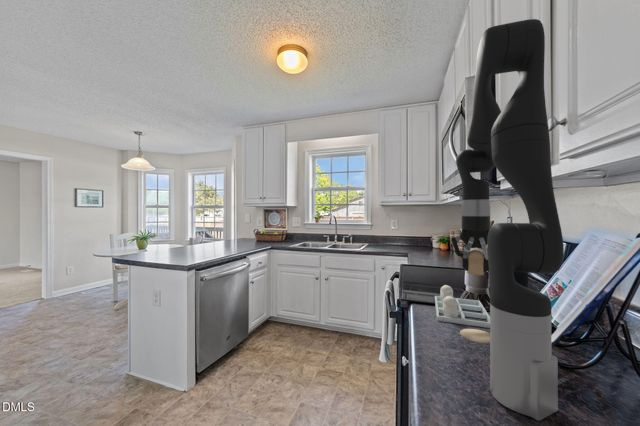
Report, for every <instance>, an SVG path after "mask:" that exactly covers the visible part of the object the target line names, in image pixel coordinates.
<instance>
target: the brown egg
mask: <svg viewBox="0 0 640 426" xmlns="http://www.w3.org/2000/svg"><path fill="white" fill-rule="evenodd" d="M467 259H468V271H466V274H468V275H473V276H484V275H485V272H484V256H483V254H482V251H481V250H477V249H473V250H470V252H469V254H468V257H467Z"/></svg>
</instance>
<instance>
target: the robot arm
mask: <svg viewBox="0 0 640 426" xmlns="http://www.w3.org/2000/svg"><path fill="white" fill-rule="evenodd" d="M480 37H481V38H480V40H479V45H478V48H477V54H476V61H475V62H476V63H475V73H474V83H473V87H474V88H473V102H472V114H471V115H472V116H471V122H470V125H469V131H468V135H467V139H466V140H467V141H466V143H467V145H468V146H469V148H470V149H463V150H461V151H459V153H457V156H456V158H455V163H456V168H457V172H458V175H459V178H460V181H461V186H462V188H461V189H462V203H461V212H460V214H461V232H460V233H459V235H457V236H456V235H455V236H451V237H450V241H451V243H452V246H453V249H454V253H455V255H456V256H457V257H460V258H461V267H462V269H464V271H466V272H467V271H468V259H467V257H468V254H469V252H470V251H471V249H480V252H481V253H482V254H483V256H484V273H487V272H488V283H489V285H488V288H489V299H490V300H489V303H490V304H489V316H490V328H489V333H490V343H489V345H490V346H489V347H490V348H489V350H490V351H489V353H490V354H489V355H490V356H489V358H490V359H489V367H490V369H489V373H490V374H489V375H490V378H489V381H490V387H489V389H490V394H491V395H492V397H493V398H494V399H495V400H496V401H497V402H499V403H500V404H501V405H502V406H504V407H506V408H507V409H509V410H512V411H514V412H516V413H518V414H521V415H523V416H524V415H525V416H528V417H531V418H532V419H534V420H536V421H538V422H540V421H542V420H543V419H546V418H548V417H550V416H551V415H553V414H554V413H556V412H558V410H559V402H558V401H559V396H558V395H559V392H558V390H559V389H558V388H559V387H558V386H559V385H558V384H559V381H558V377H559V376H558V374H559V373H558V369H559V368H558V363H559V360H558V357H557V356H556V355H553V354H552V353H553V352H552V302H551V299H550V297H549V296H547V295H546V294H544V293H542V292H540V291H537V290H534V289H532V288H530V287H528V288H527V287H524V286H522V285H520V284H519V283H517V282H516V281H515V279H514V273H513V272H526V273H528V274H529V273H530V274H555V273H557V272H558V271H559V270H560V269H561V268H562V265H563V262H564V255H565V251H564V250H565V247H564V246H565V244H564V238H563V233H562V227H561V222H560V219H559V214H558V213H559V212H558V208H557V203H556V198H555V192H554V191H555V190H554V185H553V176H552V175H553V173H552V160H551V142H550V140H551V139H550V128H549V122H548V115H547V114H548V113H547V108H546V107H547V106H546V91H545V56H546V54H545V49H546V48H545V47H546V44H545V43H546V38H545V28H544V25H543V23H542V21H541V20H539V19H537V18H533V19H532V18H531V19H530V18H528V19H524V20H520V21H519V20H517V21H514V22H513V21H512V22H508V23H504V24H498V25H494V26H490V27H487V29H486V30H485V31H484V32H483V34H482V35H481V36H480ZM513 72H517V73H518V78H519V79H518V83H517V84H518V85H517V87H516V88H515V91H514V92H513V94H512V96H511V97H510V99H509V100H508V102H507V104H506V105H505V106H504V108H503V109H502V111H501V108H500V106H499V104H498V101H496V99H495V96H494V94H493V91H492V90H491V89H492V87H491V77H492V76H494V75H498V74H505V73H506V74H507V73H513ZM495 168H496V170H497V171H498V172H499V174H501V176H502V177H503V178H504V179H505V180H506V182H508V184H509V185H510V186H511V187H512V188H513V189H514V190H515V192H516V193H517V194H518V196H519V197H520V199H521V201H522V203H523V204H524V206H525V209H526V212H527V217H528V222H525V223H524V222H523V223H522V222H518V223H517V222H499V223H498V222H497V223H494V224H492V225H491V204H490V203H491V202H490V182H488V180H483V179H479V178H474V177H473V176H472V174H471V173H487V172H488V173H489V172H491V171H492V170H494V169H495ZM460 240H461V241H462V242H463V243H464V247H463V251H462V252H461V250H460V247H459V245H458V244H459V243H460Z"/></svg>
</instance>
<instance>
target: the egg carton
mask: <svg viewBox="0 0 640 426" xmlns="http://www.w3.org/2000/svg"><path fill="white" fill-rule="evenodd" d="M454 298H455V299H456V301H457V304H458V318H452V317H445V316H443V315H440V314H443V302H440V295H434V304H435V305H434V306H435V314H436V320H437V321H438V322H446V323H452V324H459V325H466V326H473V327H481V328H487V329H490V314H489V313H488V312H487V310H486V308H485V307H484V305H483V303H482V302H481V301H480V300H477V299H476V300H475V299H467V298H460V297H459V298H458V297H457V298H456V297H454ZM463 310H466V311H463ZM472 311H476V312H472ZM478 312H482V313H478ZM459 316H460V318H459ZM466 317H467V318H473V319H467V318H466ZM474 318H476V319H482V320H486V321H482V320H481V321H480V320H476V319H474Z"/></svg>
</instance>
